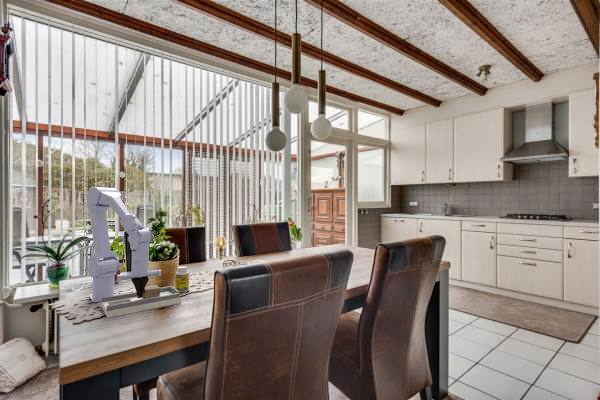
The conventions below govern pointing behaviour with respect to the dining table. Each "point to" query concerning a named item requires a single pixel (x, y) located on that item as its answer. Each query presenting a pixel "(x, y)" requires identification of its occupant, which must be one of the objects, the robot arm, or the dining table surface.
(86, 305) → the dining table surface
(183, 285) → the supplement bottle
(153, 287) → the block
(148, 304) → the deck
